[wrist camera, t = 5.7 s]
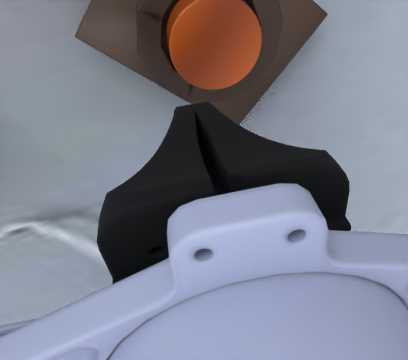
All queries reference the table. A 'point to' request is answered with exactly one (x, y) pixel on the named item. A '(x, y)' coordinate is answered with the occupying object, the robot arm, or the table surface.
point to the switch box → (160, 56)
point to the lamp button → (213, 41)
